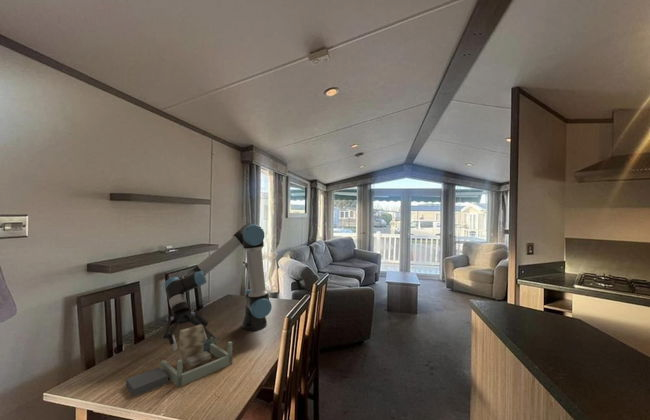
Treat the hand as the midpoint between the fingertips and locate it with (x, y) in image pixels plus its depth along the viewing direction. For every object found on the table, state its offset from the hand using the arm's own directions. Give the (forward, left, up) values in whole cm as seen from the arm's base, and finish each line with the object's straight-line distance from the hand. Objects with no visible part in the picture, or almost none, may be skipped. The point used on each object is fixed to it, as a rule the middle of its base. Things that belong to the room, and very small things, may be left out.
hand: (191, 345), depth 131 cm
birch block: (0, -1, -8) cm, 9 cm away
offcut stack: (-2, +8, -8) cm, 12 cm away
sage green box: (-2, +5, -8) cm, 10 cm away
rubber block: (+17, +10, -8) cm, 21 cm away
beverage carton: (-7, -18, -9) cm, 21 cm away
